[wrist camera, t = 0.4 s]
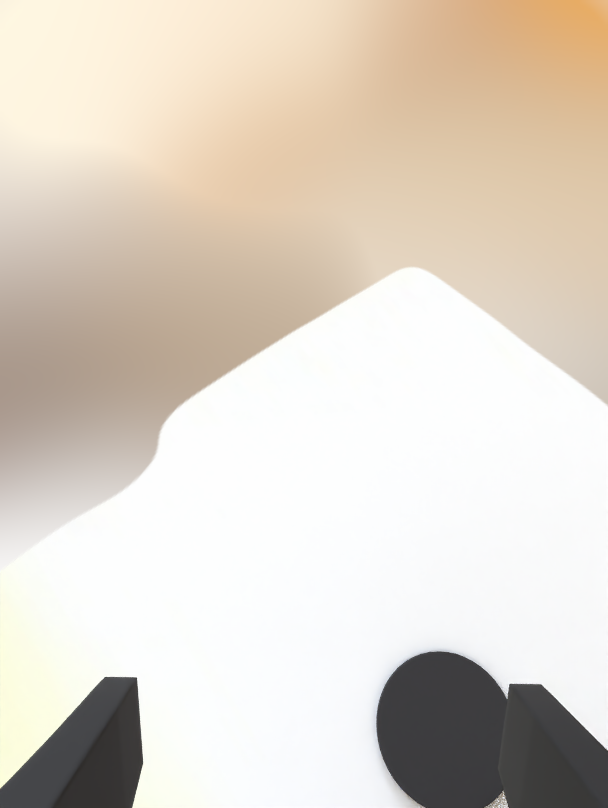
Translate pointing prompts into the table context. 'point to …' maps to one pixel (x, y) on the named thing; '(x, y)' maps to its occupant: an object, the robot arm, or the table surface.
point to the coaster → (443, 731)
